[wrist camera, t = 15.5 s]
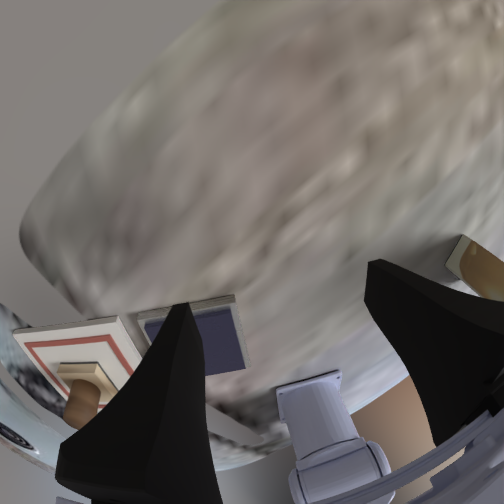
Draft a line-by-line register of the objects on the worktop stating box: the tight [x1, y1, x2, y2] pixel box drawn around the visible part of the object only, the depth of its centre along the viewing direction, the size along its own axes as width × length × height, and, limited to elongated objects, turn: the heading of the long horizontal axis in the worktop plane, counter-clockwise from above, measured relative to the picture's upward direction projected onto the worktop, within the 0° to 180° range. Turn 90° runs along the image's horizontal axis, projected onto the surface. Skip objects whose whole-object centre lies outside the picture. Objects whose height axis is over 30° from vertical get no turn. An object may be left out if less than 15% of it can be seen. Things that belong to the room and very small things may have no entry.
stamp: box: [57, 361, 119, 430], centre depth 20 cm, size 5×5×6 cm
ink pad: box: [137, 295, 251, 376], centre depth 22 cm, size 8×8×2 cm
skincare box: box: [445, 234, 504, 302], centre depth 19 cm, size 6×4×12 cm
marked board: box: [12, 316, 142, 412], centre depth 23 cm, size 14×14×1 cm
